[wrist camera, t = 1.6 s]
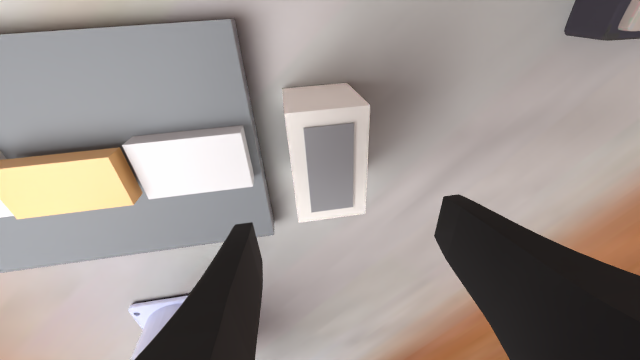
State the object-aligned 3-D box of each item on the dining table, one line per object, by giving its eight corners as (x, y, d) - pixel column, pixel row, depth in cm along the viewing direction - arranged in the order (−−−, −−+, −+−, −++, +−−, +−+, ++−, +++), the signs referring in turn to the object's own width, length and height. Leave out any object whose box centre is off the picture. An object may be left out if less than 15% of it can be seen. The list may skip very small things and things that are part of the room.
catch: (142, 192, 16) (133, 204, 15) (34, 205, 15) (17, 219, 14) (119, 147, 14) (108, 157, 13) (-3, 160, 14) (-24, 171, 13)
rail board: (274, 221, 21) (273, 246, 19) (1, 258, 20) (-34, 290, 17) (234, 18, 14) (226, 19, 12) (-210, 48, 12) (-322, 56, 10)
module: (346, 172, 20) (366, 215, 16) (293, 179, 20) (298, 224, 15) (346, 82, 17) (371, 106, 12) (282, 88, 16) (284, 114, 12)
